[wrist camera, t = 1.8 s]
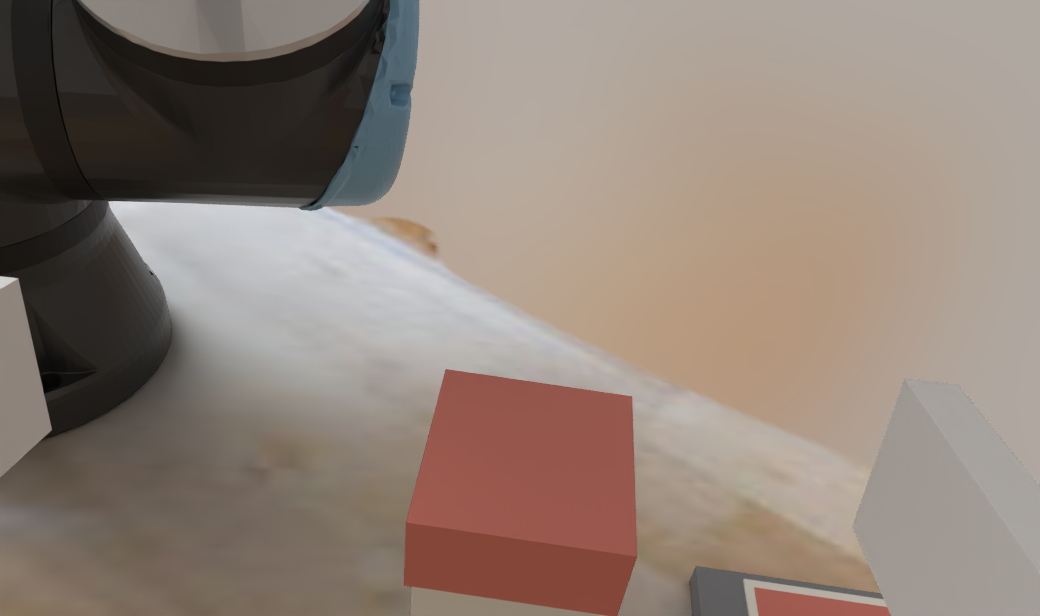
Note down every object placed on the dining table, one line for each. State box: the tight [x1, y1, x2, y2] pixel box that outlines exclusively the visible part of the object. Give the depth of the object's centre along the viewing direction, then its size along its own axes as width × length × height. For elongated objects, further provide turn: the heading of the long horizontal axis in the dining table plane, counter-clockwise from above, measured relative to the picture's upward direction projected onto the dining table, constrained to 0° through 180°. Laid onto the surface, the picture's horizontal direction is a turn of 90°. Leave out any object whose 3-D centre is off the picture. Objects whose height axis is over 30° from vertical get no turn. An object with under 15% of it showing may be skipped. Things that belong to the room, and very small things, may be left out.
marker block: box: [404, 369, 637, 616], centre depth 28 cm, size 6×6×13 cm
